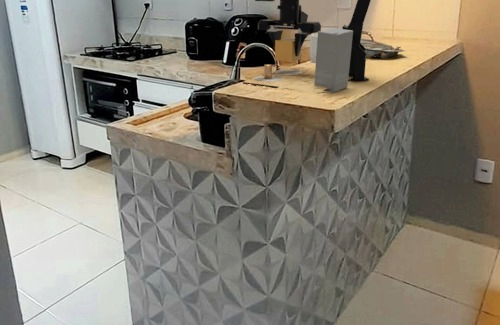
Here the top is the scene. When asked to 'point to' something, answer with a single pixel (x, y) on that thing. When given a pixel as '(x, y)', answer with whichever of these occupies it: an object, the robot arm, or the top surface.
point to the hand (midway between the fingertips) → (288, 55)
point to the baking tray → (379, 49)
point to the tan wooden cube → (286, 50)
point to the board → (275, 77)
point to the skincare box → (333, 59)
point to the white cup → (313, 47)
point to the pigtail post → (267, 71)
